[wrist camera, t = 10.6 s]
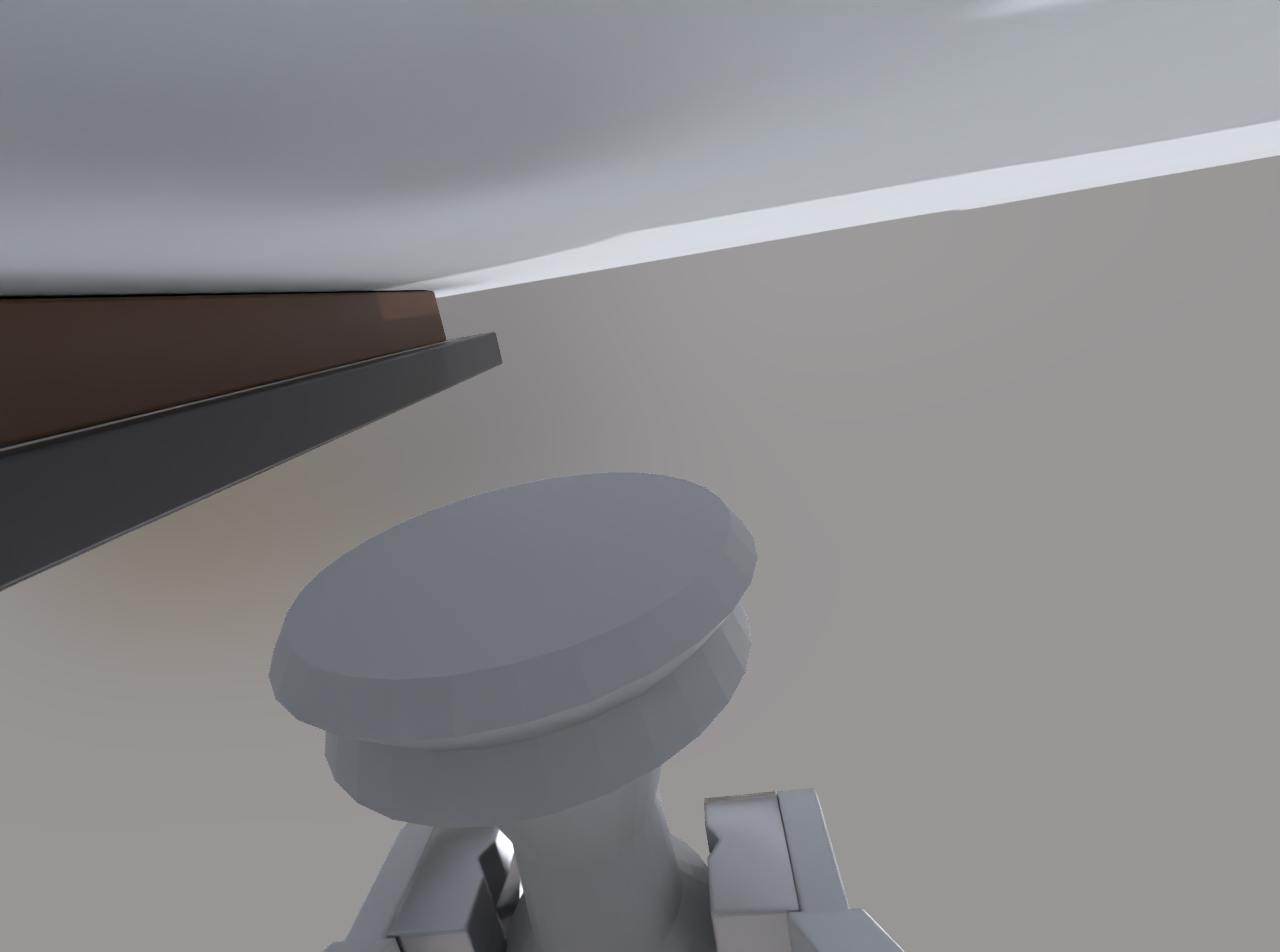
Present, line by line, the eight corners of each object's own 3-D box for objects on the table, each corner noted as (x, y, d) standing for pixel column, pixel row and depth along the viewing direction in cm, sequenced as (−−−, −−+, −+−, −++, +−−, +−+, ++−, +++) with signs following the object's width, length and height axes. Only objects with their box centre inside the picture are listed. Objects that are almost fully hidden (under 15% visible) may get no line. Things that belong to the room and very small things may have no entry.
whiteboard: (-294, 272, 5) (-78, 629, 6) (484, 283, 25) (503, 363, 26) (-1517, 531, 6) (-1183, 775, 7) (141, 345, 27) (171, 418, 28)
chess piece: (604, 448, 9) (680, 840, 11) (256, 560, 7) (440, 1018, 9) (866, 519, 5) (896, 1091, 8) (251, 836, 3) (573, 1508, 5)
